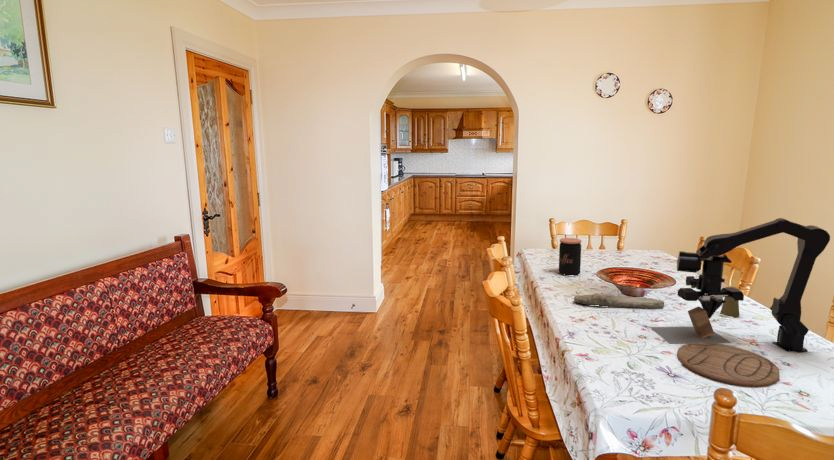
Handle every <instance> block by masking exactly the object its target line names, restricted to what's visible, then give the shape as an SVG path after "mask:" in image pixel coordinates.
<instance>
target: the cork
mask: <svg viewBox="0 0 834 460" xmlns="http://www.w3.org/2000/svg"><path fill="white" fill-rule="evenodd" d="M724 288H735V289H737V290H739V291H741V289H740V288H739V287H736V286H725V287H724ZM723 300H724V301H726V302H725V303H723V304H722V305H721V310H720V315H723V316H726V317H732V318H740V304H739V301H735V300H733V299H732V297H723Z"/></svg>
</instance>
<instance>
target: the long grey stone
mask: <svg viewBox="0 0 834 460" xmlns="http://www.w3.org/2000/svg"><path fill="white" fill-rule="evenodd" d="M573 300H574V301H573V302H575V303H576V302H577V304H578V303H581V304H580V305H582V304H587V305H586V306H588V305H599V306H612V307H611V308H623V307H624V308H629V307H630V308H629V309H632V308H631V307H634V308H636V309H637V308H638V309H645V308H649V309H650V310H653V309H654V310H655V309H657V310H658V309H663V308H665V300H661V299H656V298H651V297H635V296H634V297H633V296H619V295H614V294H612V293H606V294H605V293H603V294H602V293H593V294H581V295H575V296H574V298H573ZM649 309H648V310H649Z"/></svg>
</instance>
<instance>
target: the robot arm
mask: <svg viewBox="0 0 834 460" xmlns="http://www.w3.org/2000/svg"><path fill="white" fill-rule="evenodd" d="M782 233H784V234H786V235H789V236H792V237H794V238H797V242H796V243H797V255H796V258H795V261H794V264H793V267H792V269H791V273H790V275H789V278H788V281H787V284H786V287H785V289H784V293H783V295H781V296H780V297H779V298H777V297H773V300H772V305H771V306H770V307H769V309H770V310H771V315H772V317H773V318H774V319H775V320H776V322H777V323H778V324H779V326H778V330H777V336H776V338H777V339H776V341H772V343H771V344H773V345H775V346H777V347H778V348H781V349H783V350H784V351H786V352H797V353H800V352H801V353H806V352H807V353H808V352H809V351H808V349H806V348H805V347H804V343H805V336H807V334H808V333H809V329H808V327H807V326H806V325H805V324H804V323H803V322H802V321H801V319H802V318H801V317H802V299H803V295H804V292H805V290H806V287H807V284H808V282H809V279H810V276H811V273H812V271H813V268H814V266H815V265H814V264H815V262H816V259H817V258H818V257H819V256H820V255H821V254H822V253H823V252H824V251H825V249H826V247H828V244H829V242H830V241H831V234H830V233H829V232H828V230H825V229H823V228H821V227H819V226H817V225H816V226H815V225H803V224H800V223H797V222H794V221H790V220H788V219H786V218H783V217H779V218H776V219H774V220H771V221H769V222H765V223H762V224H759V225H755V226H752V227H750V228H749V227H748V228H746V229H743V230H740V231H739V230H738V231H737V232H731V233H722V234H714V235H710V236H708V237H706V238H705V239H704V242H703V245H701V247H699V248H698V249H697V250H696V252H688V251H687V252H686V251H683V250H682V251H678V256H677V257H678V258H677V259H676V271H677V272H681V273H682V272H683V273H695V274H696V273H697V272H699V271H701V269H702V272H701V274H699V275H698V278H695V277H694V276H693V275H691V276H690V275H688V276H685V285H686V286H690V287H680V288H679V289H678V290H677V297H679V298H681V299H682V300H684V301H687V302H696V301H699V303H700V305H701V308H702V309H704V310H706V312H707V315H708V318H709V320H710V319H711V318H712V316H713V315H715V313H716V311H717V310H718V309H719V308H720V307H722V305H723V303H725V302H726V301H724V298H725V297H732V299H733V300H735V301H741V302H742V301H744V299H745V298H744V297H745V294H744V293H743V291H741V290H740V291H739V290H737V289H735V288H725V287H722V284H723V283H725V282H726V281H725V280H726V279H725V278H723V275H724V274H723V273H724V266H725V265H724V264H725V263H728V264H731V263H732V260H731V259H730V258H729V257H728V255H727V253H729V252H732V251H733V250H734V249H736V248H737V247H739V246H742V245H745V244H748V243H752V242H754V241H758V240H759V241H760V240H762V239H765V238H768V237H772V236H775V235H779V234H782ZM695 289H697V290H695Z"/></svg>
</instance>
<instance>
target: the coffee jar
mask: <svg viewBox="0 0 834 460" xmlns="http://www.w3.org/2000/svg"><path fill="white" fill-rule="evenodd" d="M581 243H582V240H581V239H579V238H576V237H575V238H574V237H564V238H560V239H559V251H558V252H559V253H558V254H559V255H558V272H559V274H560V273H561V274H565V275H577V276H579V275H580V274H581V264H582V263H581V262H582V258H581V257H582V244H581ZM561 274H560V275H561ZM578 274H579V275H578Z"/></svg>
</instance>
